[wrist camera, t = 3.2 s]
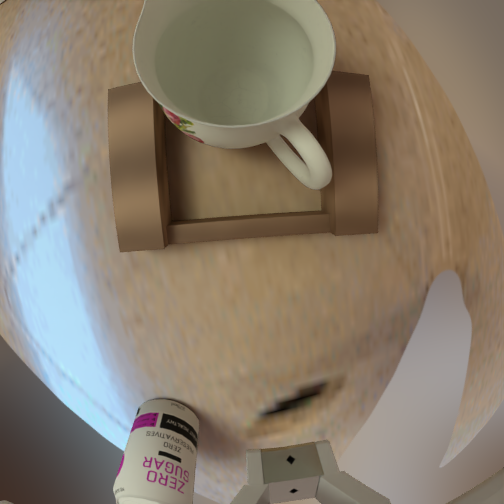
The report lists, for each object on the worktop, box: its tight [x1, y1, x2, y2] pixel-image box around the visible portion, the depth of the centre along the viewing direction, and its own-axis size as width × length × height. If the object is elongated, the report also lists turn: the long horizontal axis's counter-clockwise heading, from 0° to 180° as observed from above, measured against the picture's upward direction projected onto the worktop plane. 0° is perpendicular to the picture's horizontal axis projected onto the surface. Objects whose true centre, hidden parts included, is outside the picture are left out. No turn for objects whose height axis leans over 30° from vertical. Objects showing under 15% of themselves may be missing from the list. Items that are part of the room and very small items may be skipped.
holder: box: [108, 71, 378, 252], centre depth 24 cm, size 14×22×4 cm, turn 94°
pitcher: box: [133, 0, 336, 190], centre depth 18 cm, size 11×18×14 cm, turn 36°
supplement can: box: [113, 399, 199, 504], centre depth 25 cm, size 8×8×15 cm
